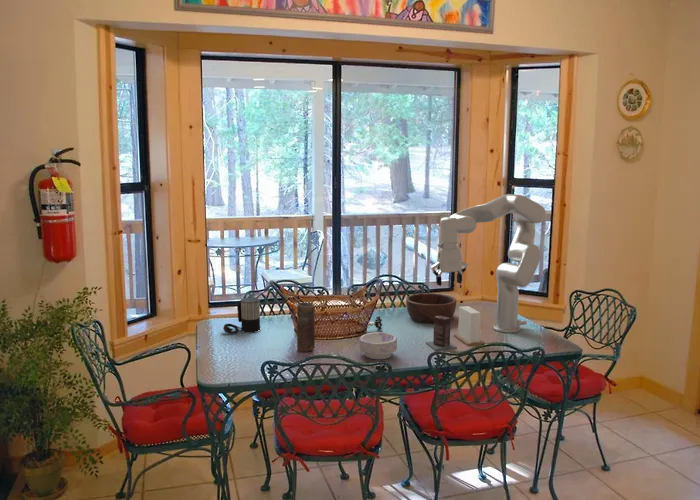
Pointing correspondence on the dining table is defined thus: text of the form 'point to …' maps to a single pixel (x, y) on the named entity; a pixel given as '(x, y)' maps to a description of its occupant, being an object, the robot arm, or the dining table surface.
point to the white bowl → (378, 345)
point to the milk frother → (246, 316)
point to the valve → (376, 323)
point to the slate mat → (438, 347)
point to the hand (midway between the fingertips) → (449, 284)
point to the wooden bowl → (430, 306)
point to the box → (441, 331)
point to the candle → (305, 327)
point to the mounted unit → (469, 326)
